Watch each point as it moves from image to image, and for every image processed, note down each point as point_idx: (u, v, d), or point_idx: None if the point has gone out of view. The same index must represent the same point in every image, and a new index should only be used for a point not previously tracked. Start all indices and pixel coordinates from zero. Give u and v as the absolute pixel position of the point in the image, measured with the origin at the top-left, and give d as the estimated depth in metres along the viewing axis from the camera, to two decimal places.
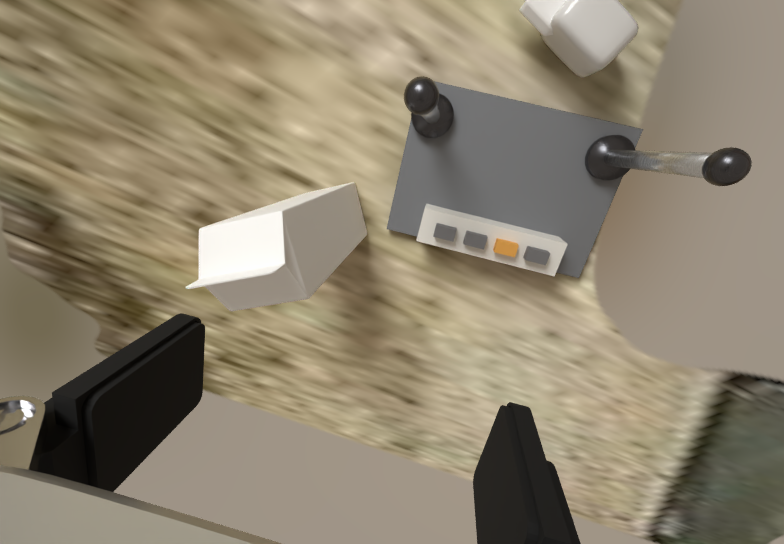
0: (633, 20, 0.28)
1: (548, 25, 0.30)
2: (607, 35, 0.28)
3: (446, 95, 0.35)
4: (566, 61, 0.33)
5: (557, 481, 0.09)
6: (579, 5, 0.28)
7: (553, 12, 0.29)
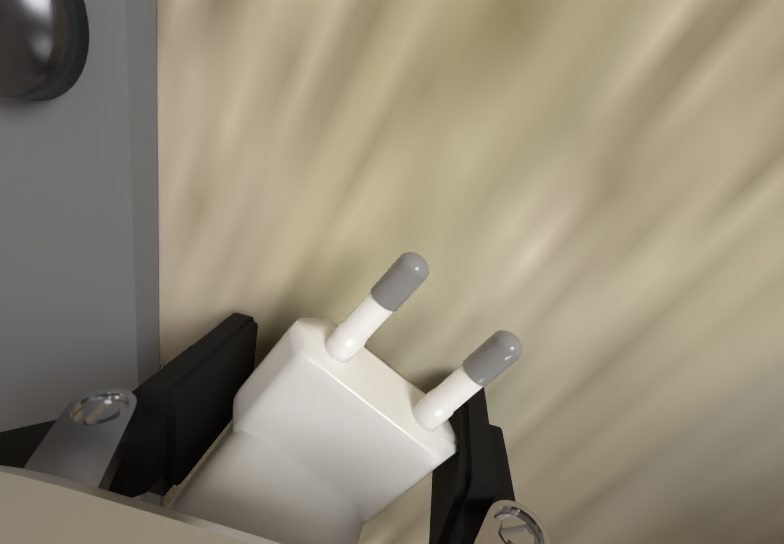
0: None
1: (239, 423, 0.08)
2: None
3: (93, 65, 0.09)
4: None
5: (503, 443, 0.10)
6: None
7: (274, 439, 0.08)
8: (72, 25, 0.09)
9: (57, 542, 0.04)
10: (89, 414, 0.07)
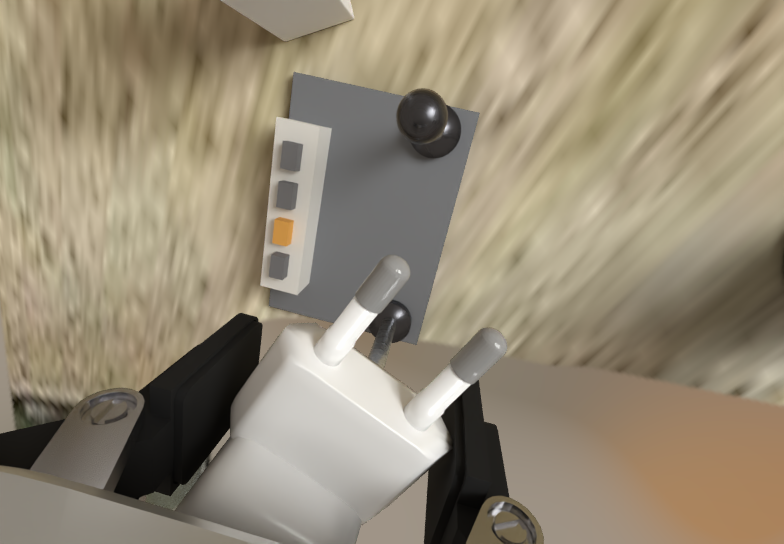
0: None
1: (235, 429, 0.09)
2: None
3: (457, 147, 0.29)
4: None
5: (497, 440, 0.10)
6: None
7: (269, 444, 0.08)
8: None
9: (57, 542, 0.04)
10: (97, 414, 0.08)
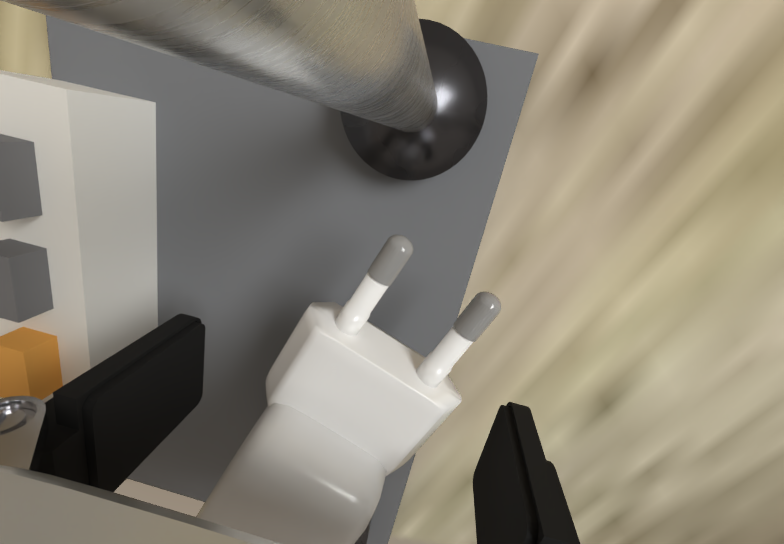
0: None
1: (272, 397, 0.10)
2: None
3: (475, 151, 0.11)
4: None
5: (557, 481, 0.09)
6: (287, 503, 0.09)
7: (302, 407, 0.10)
8: None
9: (57, 542, 0.04)
10: None
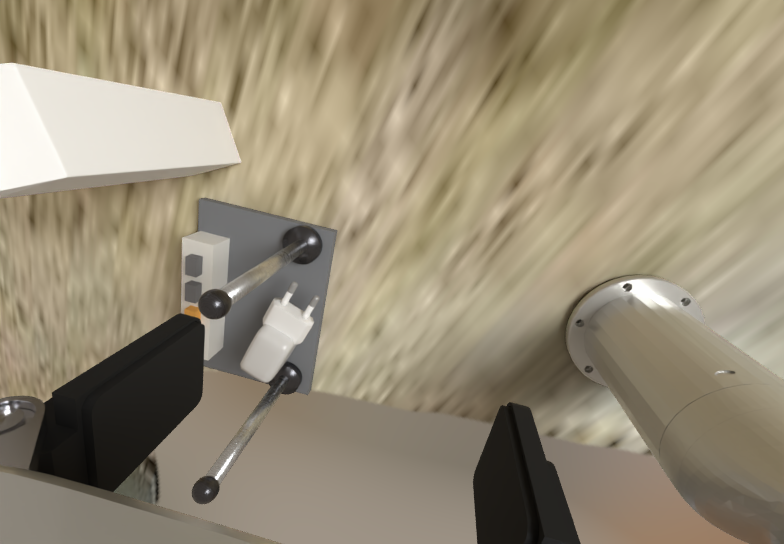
0: (268, 379, 0.39)
1: (264, 322, 0.38)
2: (255, 366, 0.38)
3: (321, 255, 0.39)
4: None
5: (557, 481, 0.09)
6: (267, 345, 0.37)
7: (271, 324, 0.38)
8: (320, 249, 0.39)
9: (58, 542, 0.04)
10: None
